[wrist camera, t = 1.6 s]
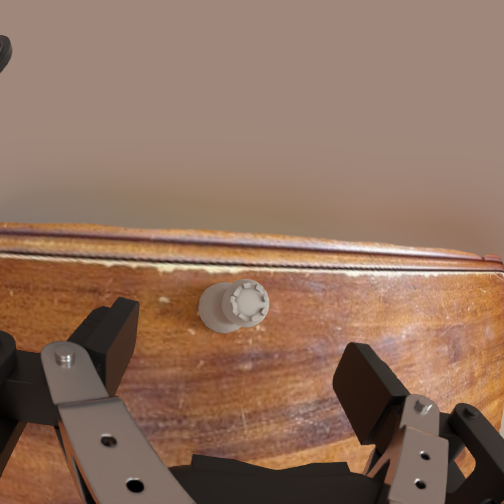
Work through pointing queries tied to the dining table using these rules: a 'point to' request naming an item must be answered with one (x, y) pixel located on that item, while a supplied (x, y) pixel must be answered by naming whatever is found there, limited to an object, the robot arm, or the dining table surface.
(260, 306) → the rook chess piece
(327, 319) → the dining table surface
